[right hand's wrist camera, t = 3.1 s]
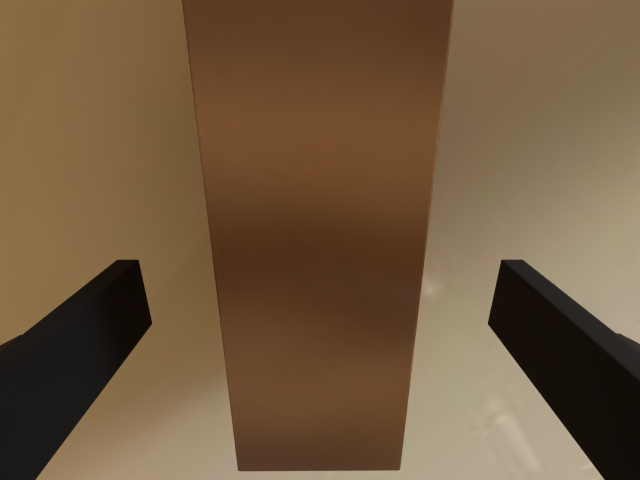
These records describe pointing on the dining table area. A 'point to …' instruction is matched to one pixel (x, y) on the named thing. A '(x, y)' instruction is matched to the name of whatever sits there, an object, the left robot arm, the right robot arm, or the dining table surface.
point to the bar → (318, 215)
